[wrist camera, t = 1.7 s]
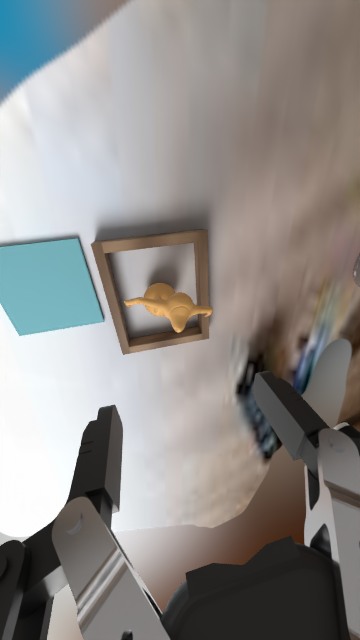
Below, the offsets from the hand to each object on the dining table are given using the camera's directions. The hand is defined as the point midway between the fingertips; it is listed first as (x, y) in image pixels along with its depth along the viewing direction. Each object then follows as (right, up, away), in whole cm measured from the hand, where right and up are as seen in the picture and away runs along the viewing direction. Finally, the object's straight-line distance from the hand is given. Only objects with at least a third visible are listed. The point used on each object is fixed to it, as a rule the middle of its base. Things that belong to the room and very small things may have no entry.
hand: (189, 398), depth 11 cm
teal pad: (-16, +8, +11) cm, 21 cm away
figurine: (-3, +9, +14) cm, 17 cm away
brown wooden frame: (-3, +8, +14) cm, 17 cm away
